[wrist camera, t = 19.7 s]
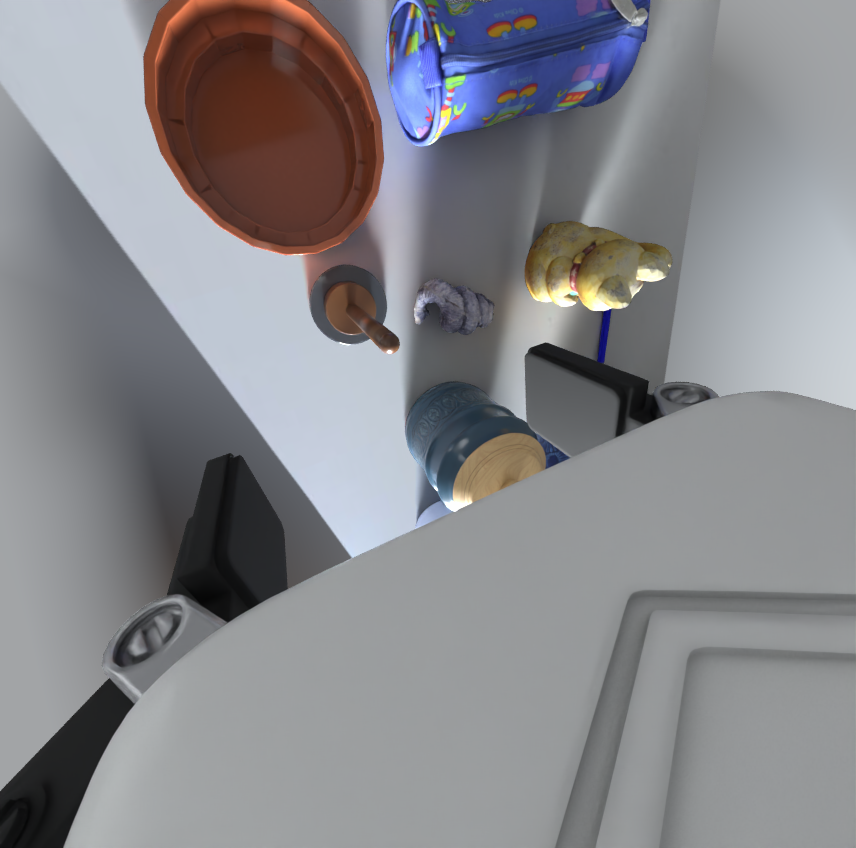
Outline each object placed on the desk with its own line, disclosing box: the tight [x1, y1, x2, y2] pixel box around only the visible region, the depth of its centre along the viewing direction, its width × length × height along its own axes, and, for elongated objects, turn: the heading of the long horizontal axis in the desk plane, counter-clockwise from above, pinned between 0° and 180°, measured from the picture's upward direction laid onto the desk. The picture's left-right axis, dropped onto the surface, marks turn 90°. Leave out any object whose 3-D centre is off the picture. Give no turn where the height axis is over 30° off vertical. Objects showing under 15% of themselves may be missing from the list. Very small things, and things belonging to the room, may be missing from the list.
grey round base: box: [310, 265, 387, 345], centre depth 37 cm, size 8×8×1 cm
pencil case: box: [386, 0, 651, 146], centre depth 29 cm, size 22×9×10 cm, turn 104°
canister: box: [405, 382, 546, 511], centre depth 41 cm, size 13×13×18 cm
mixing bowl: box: [143, 0, 384, 255], centre depth 27 cm, size 15×15×6 cm
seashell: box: [414, 278, 494, 335], centre depth 39 cm, size 5×5×10 cm
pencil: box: [597, 308, 612, 364], centre depth 51 cm, size 17×1×1 cm, turn 8°
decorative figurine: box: [525, 221, 672, 311], centre depth 37 cm, size 10×8×15 cm
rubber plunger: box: [324, 281, 400, 354], centre depth 30 cm, size 5×5×16 cm
